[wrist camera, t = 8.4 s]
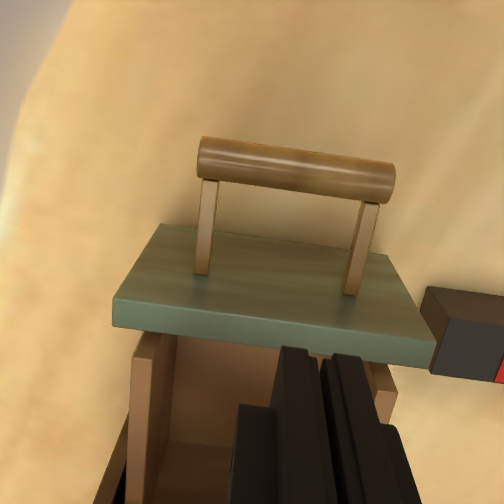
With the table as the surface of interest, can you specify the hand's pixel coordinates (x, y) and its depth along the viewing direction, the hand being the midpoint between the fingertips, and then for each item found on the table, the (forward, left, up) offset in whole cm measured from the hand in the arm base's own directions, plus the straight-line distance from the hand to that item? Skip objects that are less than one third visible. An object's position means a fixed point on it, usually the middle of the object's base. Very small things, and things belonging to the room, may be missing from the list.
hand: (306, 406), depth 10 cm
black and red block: (+2, +12, -15) cm, 20 cm away
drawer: (+6, +1, -14) cm, 15 cm away
